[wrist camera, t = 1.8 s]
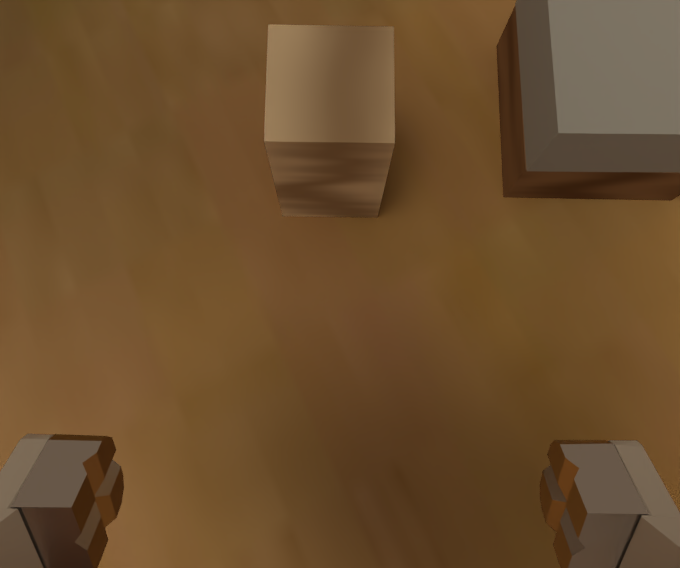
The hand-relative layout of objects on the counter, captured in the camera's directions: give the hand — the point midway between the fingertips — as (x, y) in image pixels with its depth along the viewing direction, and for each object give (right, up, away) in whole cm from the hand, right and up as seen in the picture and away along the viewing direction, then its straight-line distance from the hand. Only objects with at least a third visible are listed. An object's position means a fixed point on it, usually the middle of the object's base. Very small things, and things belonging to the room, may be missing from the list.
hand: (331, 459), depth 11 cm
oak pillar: (0, +9, +21) cm, 23 cm away
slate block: (+13, +13, +18) cm, 26 cm away
